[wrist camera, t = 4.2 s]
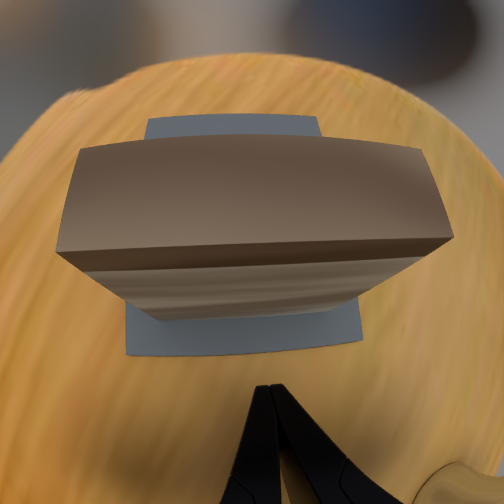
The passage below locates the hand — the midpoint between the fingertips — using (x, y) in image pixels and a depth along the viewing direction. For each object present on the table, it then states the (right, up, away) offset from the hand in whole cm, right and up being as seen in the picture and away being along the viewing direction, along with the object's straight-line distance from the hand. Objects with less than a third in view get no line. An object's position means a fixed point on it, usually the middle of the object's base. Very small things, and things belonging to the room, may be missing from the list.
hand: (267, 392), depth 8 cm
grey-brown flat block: (-1, +2, +8) cm, 9 cm away
